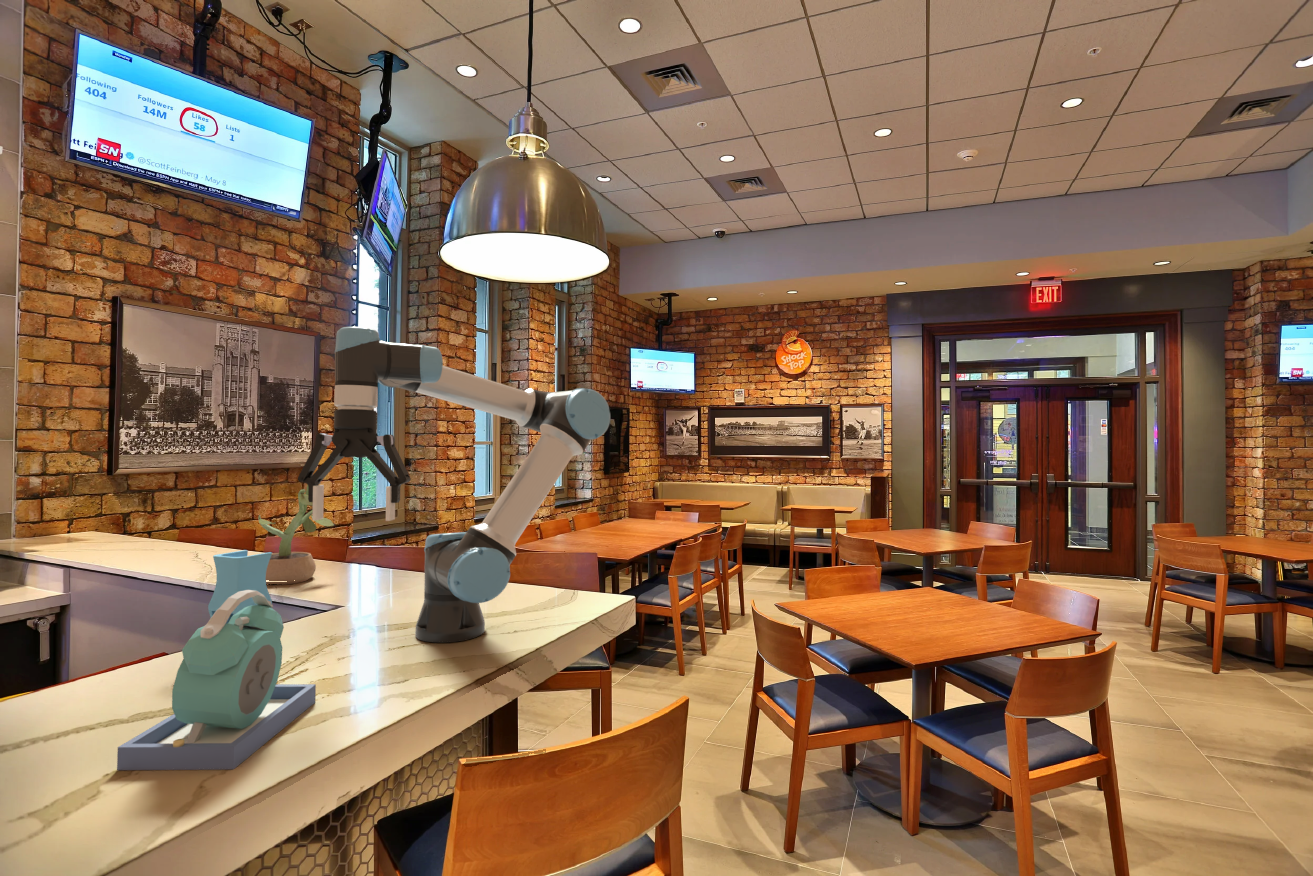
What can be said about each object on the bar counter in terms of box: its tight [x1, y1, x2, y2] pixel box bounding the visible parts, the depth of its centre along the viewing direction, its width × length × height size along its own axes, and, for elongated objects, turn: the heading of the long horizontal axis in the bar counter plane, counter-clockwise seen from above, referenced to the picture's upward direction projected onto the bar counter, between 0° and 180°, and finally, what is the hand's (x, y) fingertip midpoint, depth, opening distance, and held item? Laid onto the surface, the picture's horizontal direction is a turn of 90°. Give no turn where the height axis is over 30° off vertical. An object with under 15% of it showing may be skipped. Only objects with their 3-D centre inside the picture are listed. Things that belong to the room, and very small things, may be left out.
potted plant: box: [257, 484, 336, 585], centre depth 199 cm, size 22×18×30 cm
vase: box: [207, 549, 273, 623], centre depth 133 cm, size 8×8×20 cm
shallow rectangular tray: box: [116, 683, 317, 771], centre depth 95 cm, size 15×22×4 cm
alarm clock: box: [171, 590, 285, 743], centre depth 96 cm, size 17×10×20 cm, turn 4°
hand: (354, 520), depth 122 cm, fingers open, 13 cm apart
